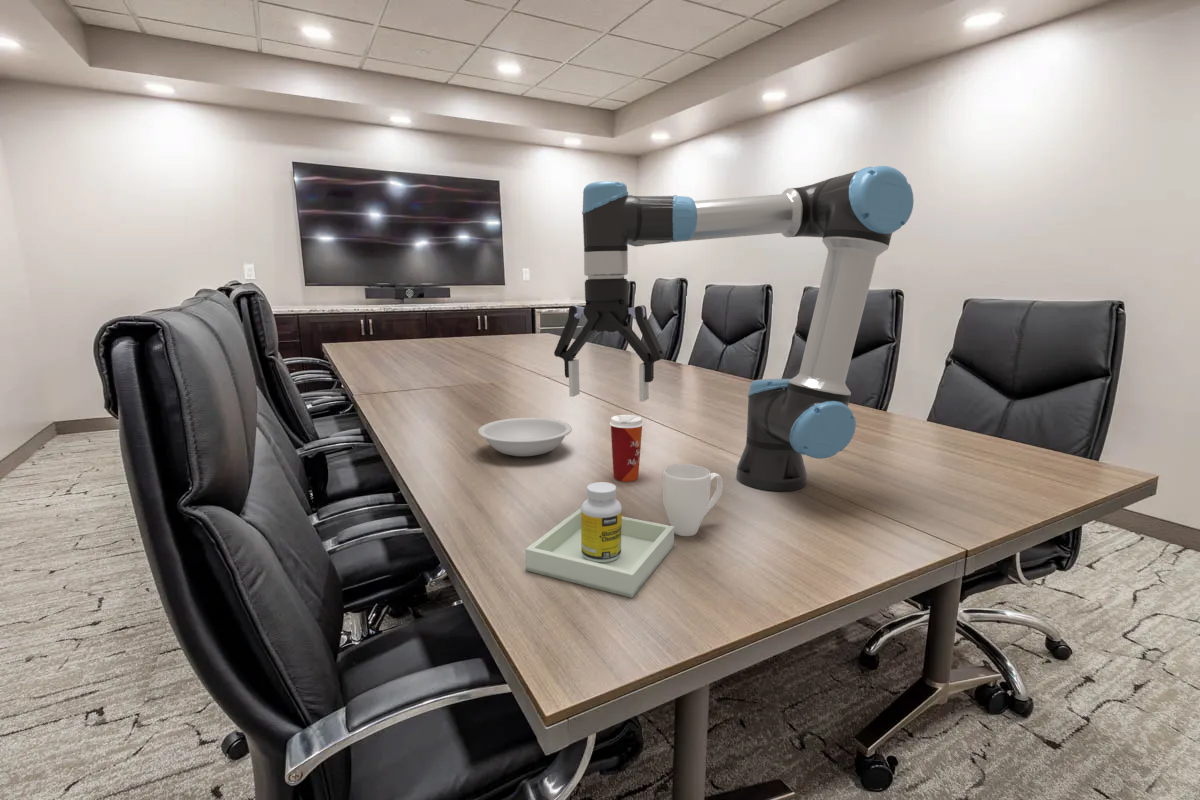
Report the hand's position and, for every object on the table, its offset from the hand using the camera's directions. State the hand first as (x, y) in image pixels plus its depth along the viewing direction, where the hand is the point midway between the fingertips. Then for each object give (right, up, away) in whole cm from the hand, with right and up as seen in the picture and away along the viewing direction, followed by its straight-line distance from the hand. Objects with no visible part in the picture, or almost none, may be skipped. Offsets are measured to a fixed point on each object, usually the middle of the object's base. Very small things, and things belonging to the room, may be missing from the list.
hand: (608, 397), depth 104 cm
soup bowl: (-21, -14, +46) cm, 53 cm away
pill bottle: (-1, -26, -10) cm, 28 cm away
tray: (-1, -26, -10) cm, 28 cm away
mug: (+15, -24, 0) cm, 29 cm away
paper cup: (+4, -18, +27) cm, 33 cm away
